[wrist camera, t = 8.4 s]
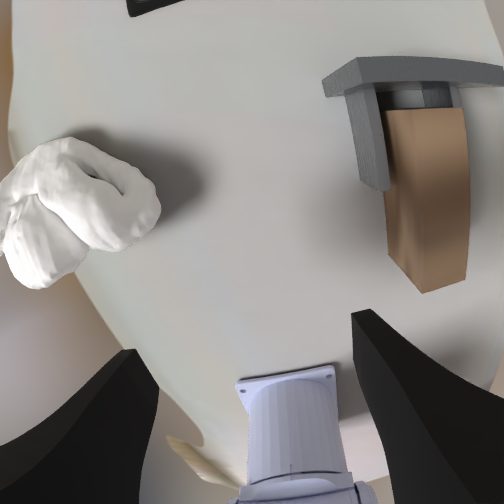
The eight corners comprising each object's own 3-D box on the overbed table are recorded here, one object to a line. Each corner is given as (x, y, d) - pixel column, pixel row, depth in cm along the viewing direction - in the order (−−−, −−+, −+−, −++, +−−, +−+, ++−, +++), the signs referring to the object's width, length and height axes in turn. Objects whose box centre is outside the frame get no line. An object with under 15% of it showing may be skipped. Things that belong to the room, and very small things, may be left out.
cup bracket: (453, 165, 15) (515, 188, 10) (342, 183, 16) (383, 214, 11) (439, 74, 13) (502, 66, 7) (321, 80, 14) (356, 57, 8)
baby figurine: (187, 177, 17) (140, 319, 12) (88, 223, 22) (51, 315, 18) (84, 71, 10) (-30, 209, 6) (14, 164, 16) (-40, 258, 12)
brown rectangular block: (425, 244, 18) (465, 279, 13) (387, 253, 18) (421, 293, 13) (413, 108, 14) (462, 107, 9) (369, 111, 14) (411, 109, 10)
